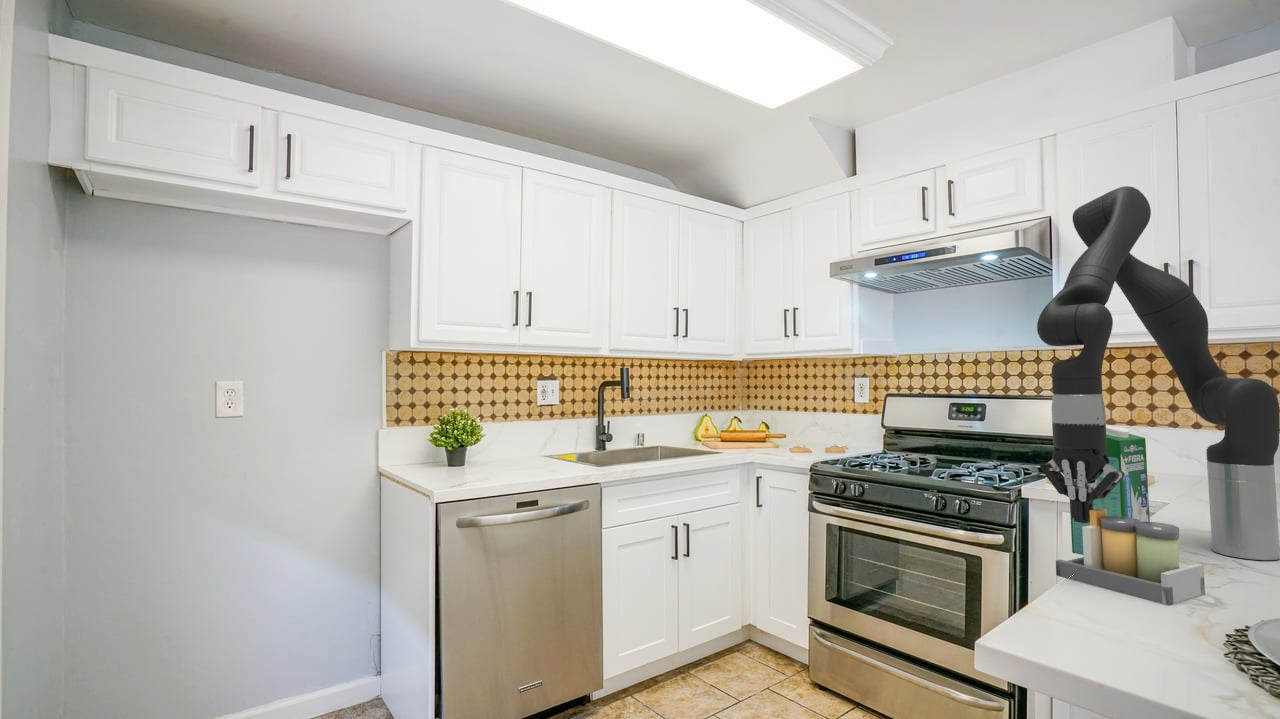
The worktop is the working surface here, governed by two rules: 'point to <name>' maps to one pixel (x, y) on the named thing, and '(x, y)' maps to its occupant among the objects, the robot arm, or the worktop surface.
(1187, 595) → the grey tray
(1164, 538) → the green jar
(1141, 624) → the worktop surface
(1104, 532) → the amber jar
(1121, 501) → the milk carton
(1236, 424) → the robot arm
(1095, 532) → the block
